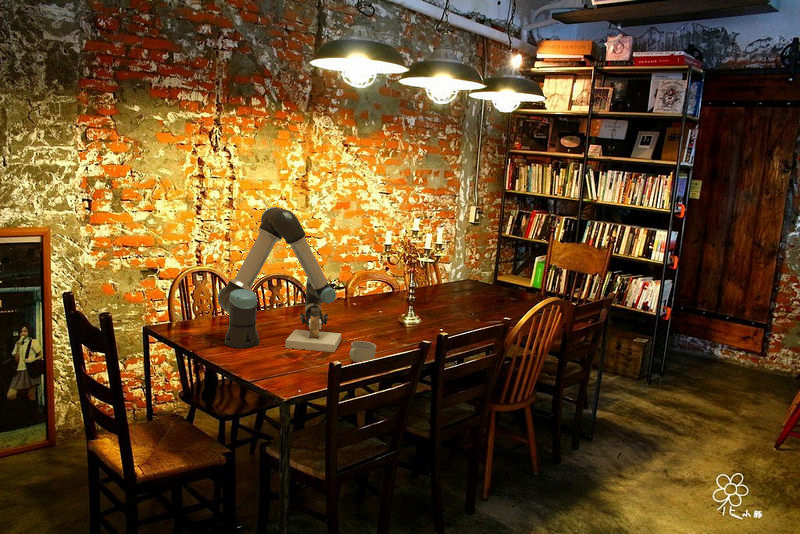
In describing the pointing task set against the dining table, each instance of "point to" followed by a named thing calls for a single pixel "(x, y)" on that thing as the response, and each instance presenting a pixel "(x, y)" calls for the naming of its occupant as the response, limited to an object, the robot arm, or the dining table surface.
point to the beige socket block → (313, 341)
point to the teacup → (362, 351)
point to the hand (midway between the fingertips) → (315, 325)
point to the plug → (315, 323)
